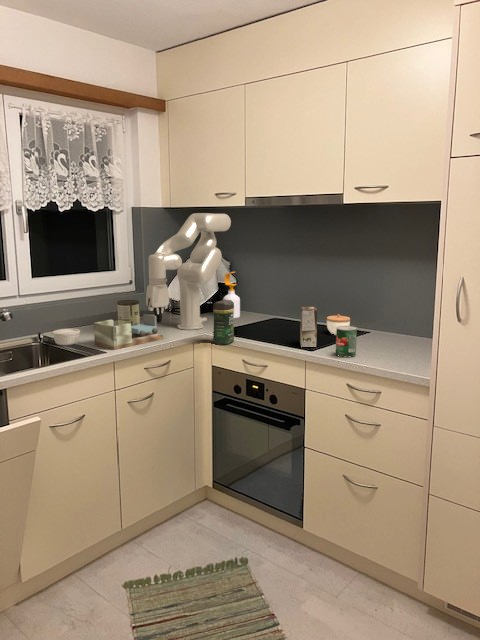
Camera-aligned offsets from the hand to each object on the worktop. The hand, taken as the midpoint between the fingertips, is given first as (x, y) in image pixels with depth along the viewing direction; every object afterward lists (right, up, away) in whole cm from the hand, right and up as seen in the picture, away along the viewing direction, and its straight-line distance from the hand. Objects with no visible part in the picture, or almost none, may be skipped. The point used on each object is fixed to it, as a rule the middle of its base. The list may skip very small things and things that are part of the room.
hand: (158, 322), depth 244 cm
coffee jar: (+30, -9, -13) cm, 34 cm away
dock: (-11, -9, -11) cm, 18 cm away
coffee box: (+66, -10, -18) cm, 69 cm away
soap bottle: (+33, +2, +44) cm, 55 cm away
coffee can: (-16, -4, +12) cm, 20 cm away
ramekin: (-38, -9, -12) cm, 41 cm away
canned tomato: (+79, -13, -33) cm, 86 cm away
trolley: (-6, -5, -6) cm, 10 cm away
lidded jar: (+82, -6, +3) cm, 83 cm away
